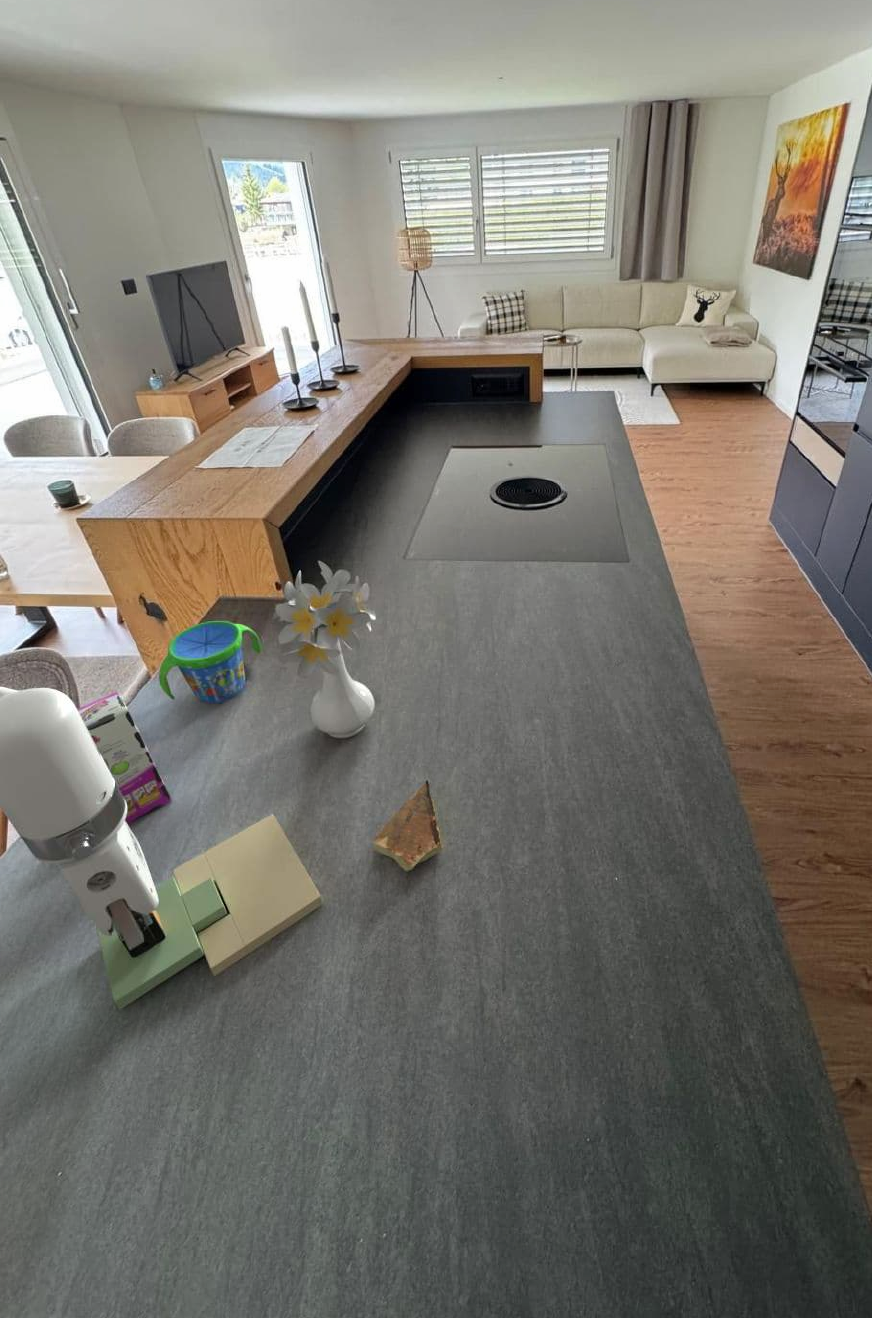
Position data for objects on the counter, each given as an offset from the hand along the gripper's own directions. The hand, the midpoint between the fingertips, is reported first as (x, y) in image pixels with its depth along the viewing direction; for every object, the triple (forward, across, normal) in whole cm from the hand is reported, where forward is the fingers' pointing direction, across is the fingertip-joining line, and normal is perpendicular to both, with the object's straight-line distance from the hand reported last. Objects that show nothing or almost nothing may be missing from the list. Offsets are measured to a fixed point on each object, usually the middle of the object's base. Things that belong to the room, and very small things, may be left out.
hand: (144, 930), depth 64 cm
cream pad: (+3, 0, -10) cm, 11 cm away
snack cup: (+4, +37, -19) cm, 42 cm away
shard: (+4, -5, -28) cm, 29 cm away
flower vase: (+4, +16, -31) cm, 35 cm away
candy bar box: (+4, +21, -1) cm, 21 cm away
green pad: (+2, 0, -2) cm, 3 cm away
